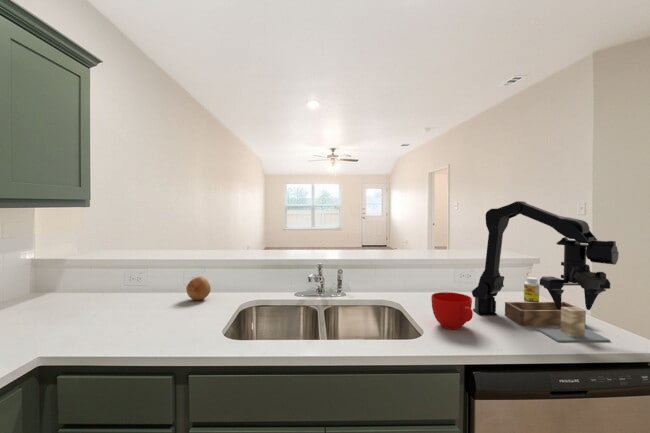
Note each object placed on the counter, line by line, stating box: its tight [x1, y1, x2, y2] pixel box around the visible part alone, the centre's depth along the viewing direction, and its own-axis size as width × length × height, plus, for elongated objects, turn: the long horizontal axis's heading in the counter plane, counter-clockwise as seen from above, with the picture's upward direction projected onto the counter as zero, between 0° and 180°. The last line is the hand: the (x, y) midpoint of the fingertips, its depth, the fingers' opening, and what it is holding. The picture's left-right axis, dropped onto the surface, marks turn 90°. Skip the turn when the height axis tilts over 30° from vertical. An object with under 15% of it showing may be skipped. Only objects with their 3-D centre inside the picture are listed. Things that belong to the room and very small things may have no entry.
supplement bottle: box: [523, 276, 541, 302], centre depth 152 cm, size 6×6×10 cm
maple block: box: [560, 306, 586, 337], centre depth 114 cm, size 4×4×8 cm
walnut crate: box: [504, 301, 587, 327], centre depth 129 cm, size 22×11×5 cm, turn 91°
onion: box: [185, 275, 211, 302], centre depth 157 cm, size 10×10×10 cm
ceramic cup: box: [431, 291, 473, 330], centre depth 122 cm, size 13×17×10 cm
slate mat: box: [537, 327, 611, 343], centre depth 115 cm, size 16×10×1 cm, turn 91°
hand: (573, 309), depth 114 cm, fingers open, 9 cm apart
